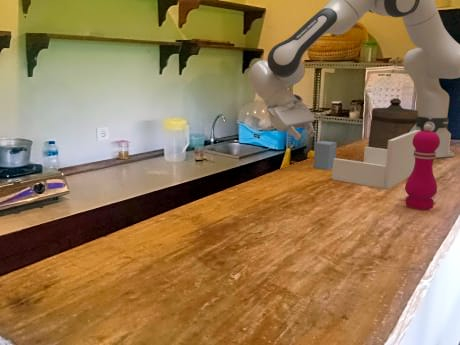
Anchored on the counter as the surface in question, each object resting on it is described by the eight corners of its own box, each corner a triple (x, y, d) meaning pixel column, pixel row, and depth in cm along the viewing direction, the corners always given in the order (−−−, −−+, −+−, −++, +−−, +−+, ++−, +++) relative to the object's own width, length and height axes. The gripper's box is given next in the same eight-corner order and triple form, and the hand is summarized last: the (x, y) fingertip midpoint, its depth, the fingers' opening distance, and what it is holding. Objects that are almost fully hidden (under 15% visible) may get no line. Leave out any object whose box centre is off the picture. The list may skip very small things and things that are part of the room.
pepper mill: (401, 207, 115) (409, 124, 110) (405, 199, 121) (413, 121, 116) (433, 212, 112) (443, 127, 107) (436, 204, 118) (446, 123, 113)
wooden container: (419, 168, 156) (426, 100, 151) (373, 167, 157) (379, 99, 151) (403, 158, 171) (410, 96, 165) (362, 158, 171) (367, 96, 166)
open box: (364, 167, 156) (368, 125, 152) (415, 175, 146) (420, 130, 143) (331, 182, 137) (334, 134, 133) (387, 192, 127) (392, 140, 124)
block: (320, 168, 154) (322, 140, 152) (334, 170, 152) (336, 142, 149) (313, 170, 151) (314, 142, 148) (327, 173, 148) (329, 144, 146)
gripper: (271, 99, 146) (297, 134, 142) (303, 96, 162) (327, 127, 158) (258, 113, 149) (284, 147, 146) (290, 108, 165) (314, 139, 162)
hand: (307, 137), depth 152 cm, fingers open, 8 cm apart
